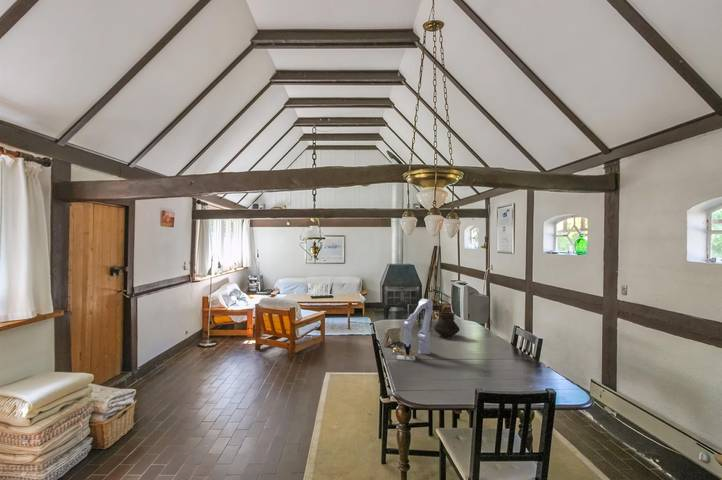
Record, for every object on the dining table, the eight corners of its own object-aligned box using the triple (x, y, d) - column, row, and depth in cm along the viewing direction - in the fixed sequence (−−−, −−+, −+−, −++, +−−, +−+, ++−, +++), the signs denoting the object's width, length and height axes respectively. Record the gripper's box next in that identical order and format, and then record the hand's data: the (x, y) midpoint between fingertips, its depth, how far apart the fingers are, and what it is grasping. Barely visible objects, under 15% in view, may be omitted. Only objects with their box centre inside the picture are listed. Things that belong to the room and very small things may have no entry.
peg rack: (415, 357, 292) (415, 352, 292) (415, 360, 283) (415, 355, 283) (397, 356, 294) (397, 351, 294) (396, 359, 285) (396, 354, 285)
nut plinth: (402, 351, 309) (402, 349, 309) (401, 354, 300) (401, 353, 300) (391, 350, 310) (391, 349, 310) (390, 353, 301) (390, 352, 301)
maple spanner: (413, 355, 297) (413, 350, 297) (413, 356, 293) (413, 351, 293) (399, 354, 299) (400, 349, 299) (399, 356, 294) (399, 351, 295)
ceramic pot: (464, 337, 355) (464, 314, 355) (446, 340, 343) (446, 316, 343) (446, 332, 376) (446, 310, 376) (428, 335, 364) (428, 312, 364)
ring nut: (400, 352, 302) (400, 348, 302) (392, 351, 302) (392, 347, 302) (400, 349, 310) (400, 345, 310) (393, 349, 311) (393, 345, 311)
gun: (385, 347, 321) (386, 329, 322) (382, 346, 323) (383, 328, 324) (400, 343, 340) (401, 327, 341) (397, 343, 342) (398, 326, 343)
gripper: (402, 334, 303) (402, 350, 303) (402, 338, 289) (402, 355, 289) (411, 334, 303) (411, 351, 302) (411, 338, 288) (411, 356, 288)
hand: (407, 353), depth 295 cm, fingers open, 5 cm apart
